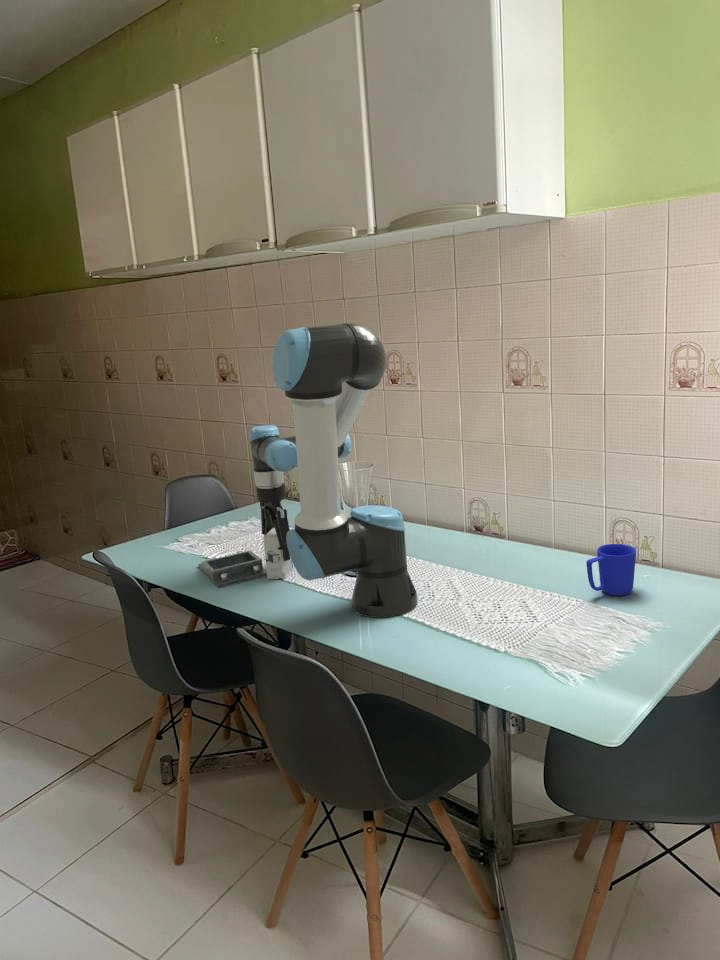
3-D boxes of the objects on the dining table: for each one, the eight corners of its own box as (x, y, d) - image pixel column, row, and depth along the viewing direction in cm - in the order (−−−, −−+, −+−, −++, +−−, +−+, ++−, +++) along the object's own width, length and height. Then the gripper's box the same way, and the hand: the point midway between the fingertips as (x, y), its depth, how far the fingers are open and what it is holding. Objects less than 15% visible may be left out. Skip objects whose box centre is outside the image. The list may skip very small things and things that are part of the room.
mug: (576, 593, 165) (575, 552, 162) (618, 581, 169) (617, 541, 167) (601, 605, 157) (600, 562, 155) (644, 593, 162) (644, 550, 160)
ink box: (277, 567, 200) (271, 527, 197) (294, 567, 199) (289, 526, 196) (266, 579, 191) (261, 537, 189) (285, 579, 190) (280, 536, 188)
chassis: (269, 575, 195) (267, 564, 194) (218, 587, 189) (217, 577, 188) (245, 555, 212) (244, 546, 211) (198, 567, 206) (197, 557, 205)
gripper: (299, 489, 181) (309, 574, 187) (269, 475, 201) (278, 552, 206) (271, 495, 178) (281, 581, 183) (243, 480, 197) (253, 558, 203)
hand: (280, 566), depth 195 cm, fingers closed on ink box, 9 cm apart
